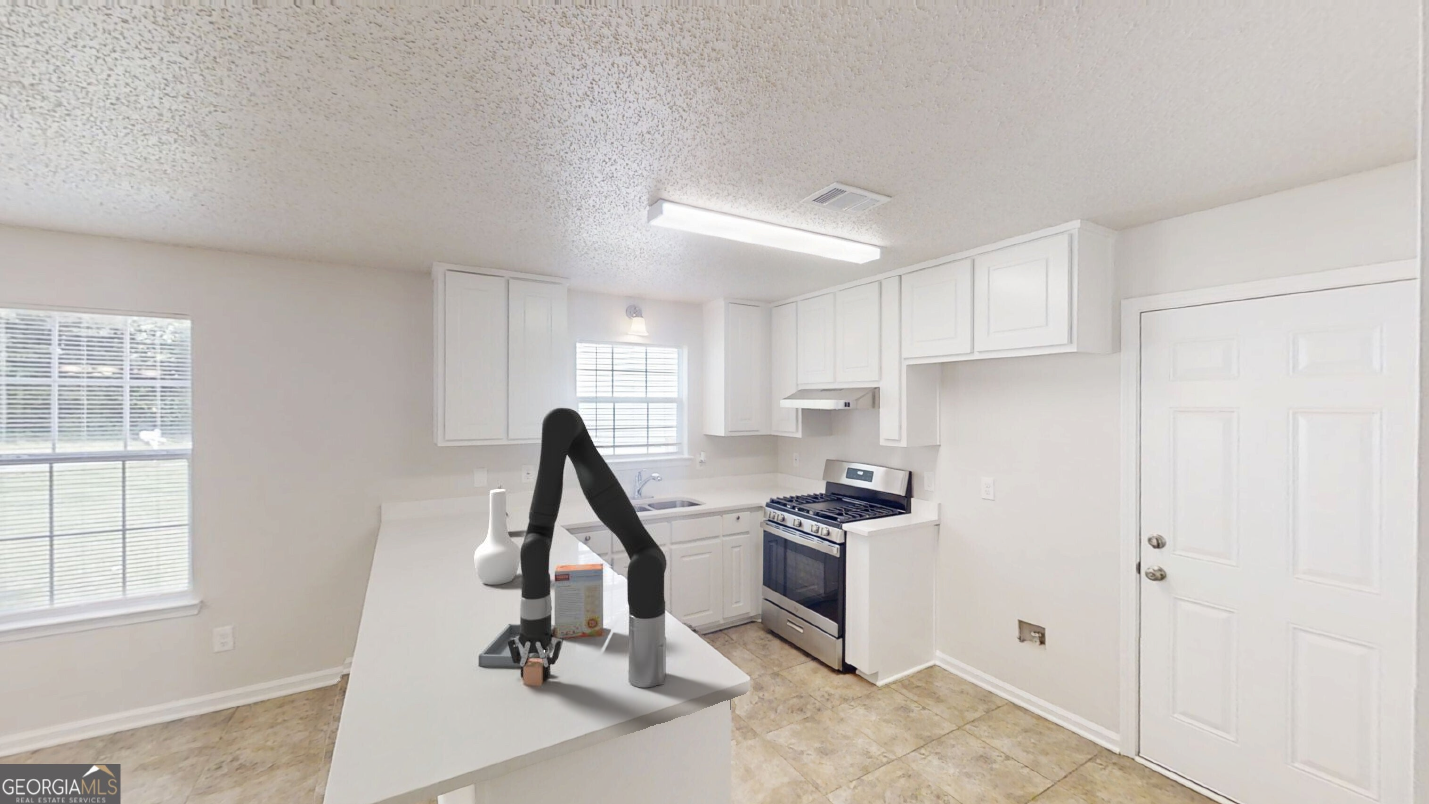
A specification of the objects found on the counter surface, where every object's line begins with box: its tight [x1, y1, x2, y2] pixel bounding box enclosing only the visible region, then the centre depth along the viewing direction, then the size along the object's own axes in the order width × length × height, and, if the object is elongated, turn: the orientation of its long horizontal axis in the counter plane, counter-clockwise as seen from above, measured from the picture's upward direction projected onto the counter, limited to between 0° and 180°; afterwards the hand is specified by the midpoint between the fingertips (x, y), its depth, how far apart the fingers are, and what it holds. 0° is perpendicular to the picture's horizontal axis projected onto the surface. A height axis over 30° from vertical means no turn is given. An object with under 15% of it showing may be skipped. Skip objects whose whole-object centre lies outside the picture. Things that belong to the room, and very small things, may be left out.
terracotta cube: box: [522, 658, 545, 686], centre depth 138 cm, size 4×4×4 cm
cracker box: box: [554, 563, 604, 639], centre depth 164 cm, size 14×6×21 cm, turn 99°
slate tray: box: [478, 623, 555, 668], centre depth 154 cm, size 14×20×4 cm
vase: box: [473, 488, 521, 586], centre depth 212 cm, size 17×17×35 cm
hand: (535, 678), depth 138 cm, fingers closed on terracotta cube, 4 cm apart
